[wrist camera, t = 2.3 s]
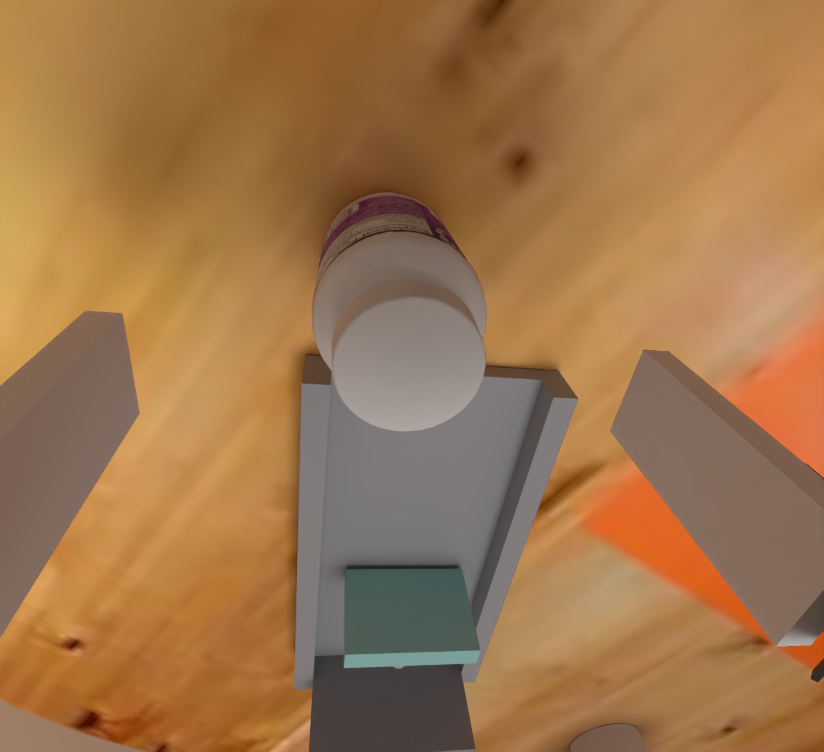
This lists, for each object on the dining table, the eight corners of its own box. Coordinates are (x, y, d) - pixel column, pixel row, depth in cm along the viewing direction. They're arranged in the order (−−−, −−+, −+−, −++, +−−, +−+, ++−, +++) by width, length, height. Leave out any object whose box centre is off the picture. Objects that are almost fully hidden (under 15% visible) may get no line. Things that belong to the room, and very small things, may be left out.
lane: (306, 354, 23) (290, 454, 17) (558, 370, 25) (625, 464, 19) (297, 652, 35) (286, 770, 29) (467, 646, 37) (490, 756, 31)
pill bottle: (458, 298, 22) (522, 431, 14) (342, 325, 22) (338, 473, 14) (437, 173, 19) (503, 246, 11) (304, 204, 19) (272, 300, 11)
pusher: (345, 569, 29) (345, 654, 24) (461, 568, 30) (480, 650, 26) (340, 622, 31) (339, 708, 27) (447, 620, 32) (462, 702, 28)
